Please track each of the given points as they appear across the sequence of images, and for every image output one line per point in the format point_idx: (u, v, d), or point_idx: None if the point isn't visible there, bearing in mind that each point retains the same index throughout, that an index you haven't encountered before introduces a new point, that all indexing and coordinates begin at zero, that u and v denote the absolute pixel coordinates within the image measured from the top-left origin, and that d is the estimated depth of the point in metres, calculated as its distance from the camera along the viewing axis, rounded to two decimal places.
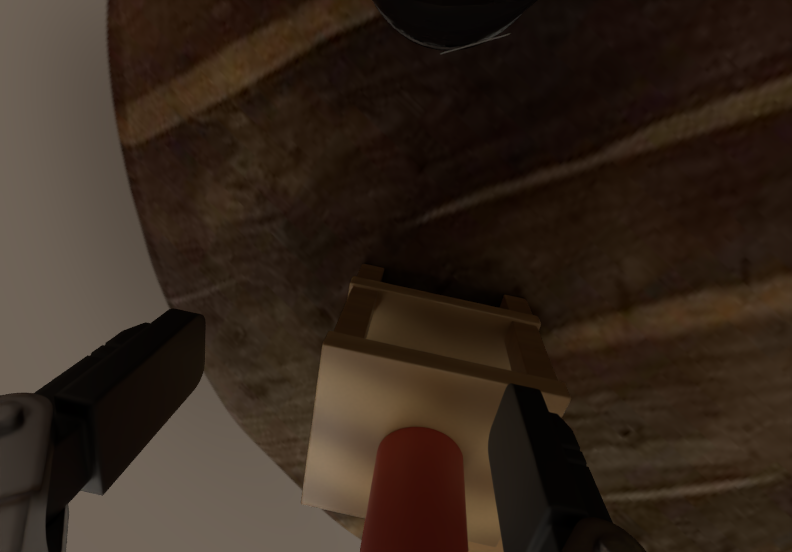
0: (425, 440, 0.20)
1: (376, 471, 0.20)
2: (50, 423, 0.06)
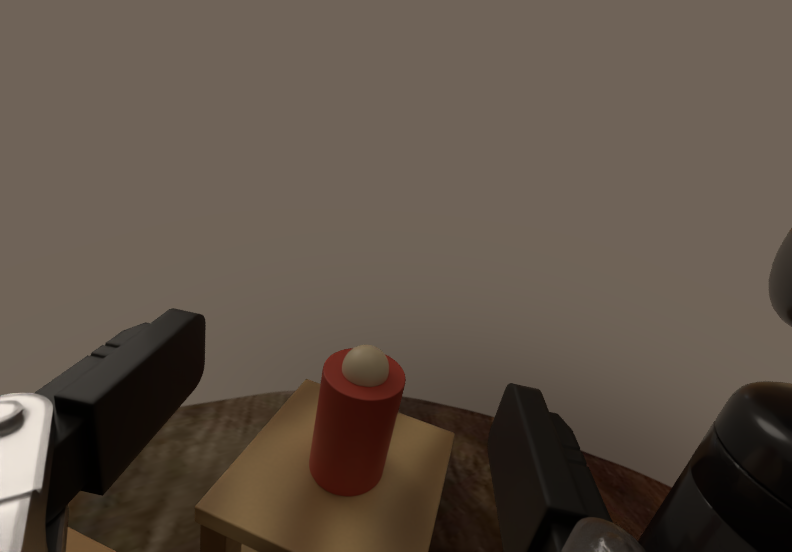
0: (384, 464, 0.25)
1: None
2: (50, 423, 0.06)
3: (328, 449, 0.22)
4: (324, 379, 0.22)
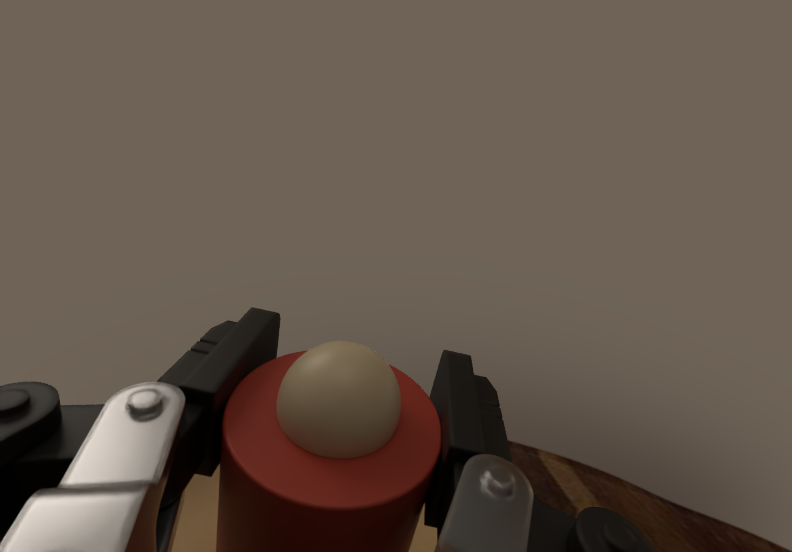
0: None
1: None
2: (179, 417, 0.07)
3: None
4: (222, 435, 0.08)
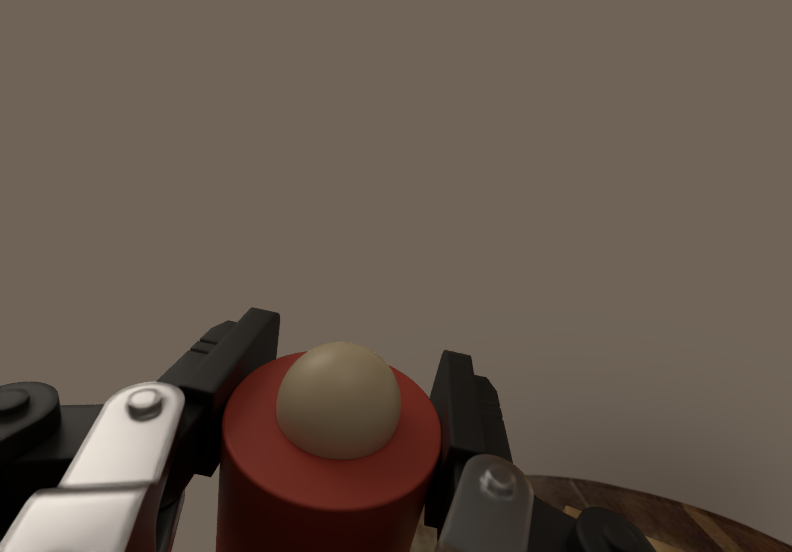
0: None
1: None
2: (179, 417, 0.07)
3: None
4: (222, 436, 0.08)
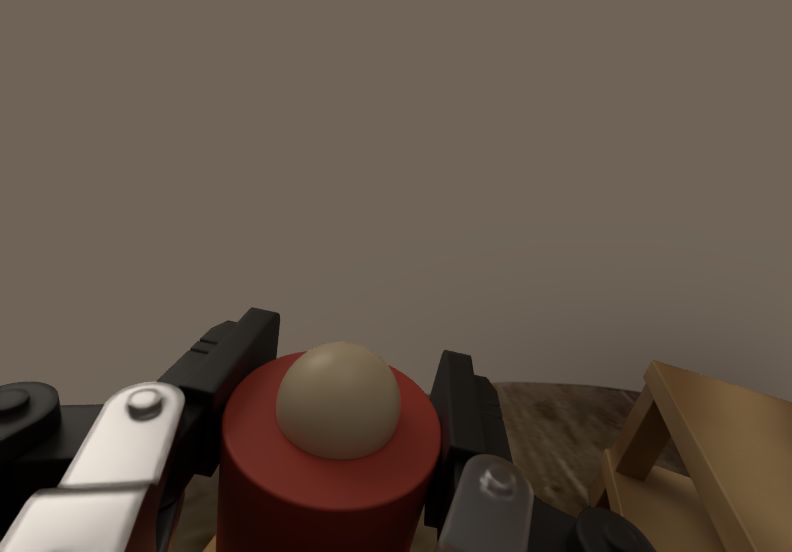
0: None
1: None
2: (179, 417, 0.07)
3: None
4: (221, 436, 0.08)
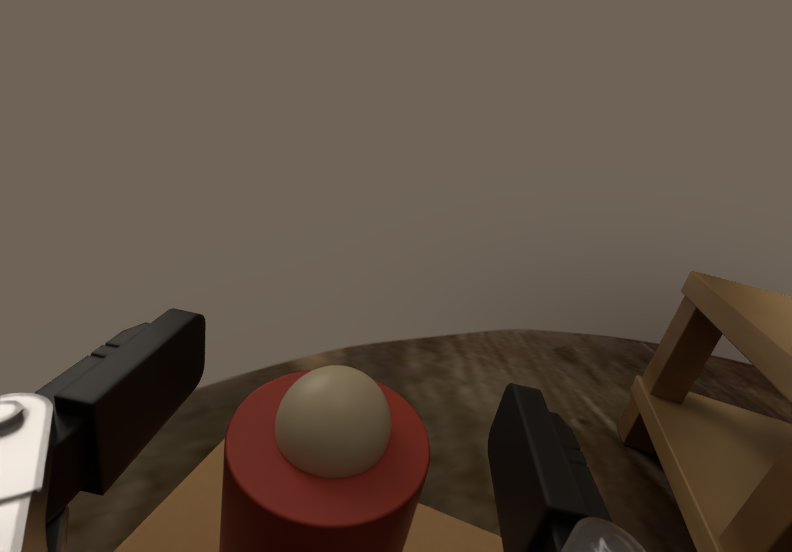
0: None
1: None
2: (50, 423, 0.06)
3: None
4: (224, 456, 0.08)
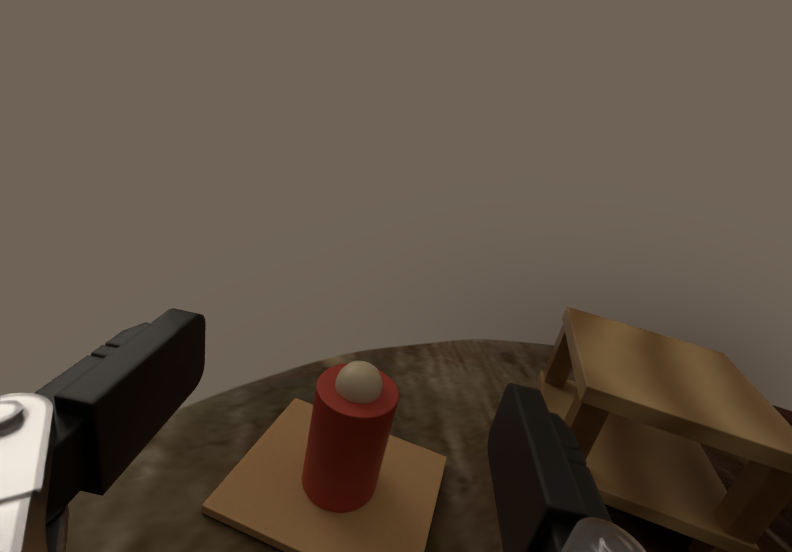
0: (377, 480, 0.25)
1: None
2: (50, 423, 0.06)
3: (321, 465, 0.22)
4: (317, 395, 0.22)
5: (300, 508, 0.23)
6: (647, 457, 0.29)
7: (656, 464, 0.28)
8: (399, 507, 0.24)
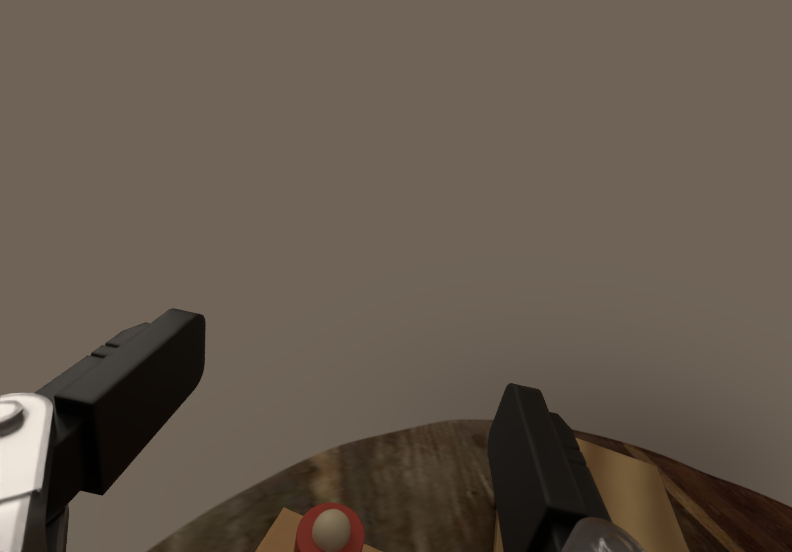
0: None
1: None
2: (50, 423, 0.06)
3: None
4: (297, 545, 0.27)
5: None
6: None
7: None
8: None
